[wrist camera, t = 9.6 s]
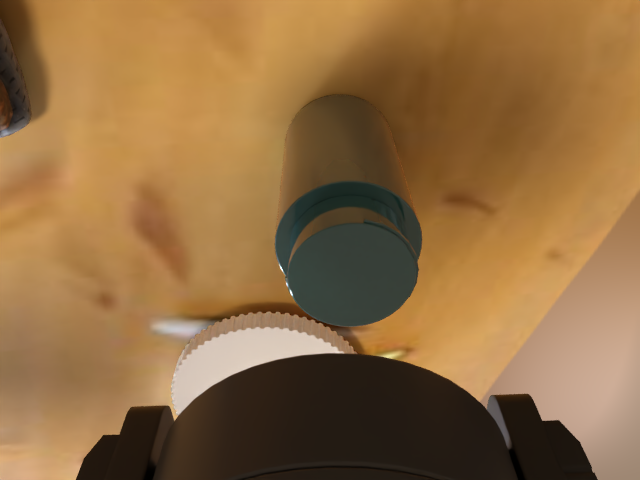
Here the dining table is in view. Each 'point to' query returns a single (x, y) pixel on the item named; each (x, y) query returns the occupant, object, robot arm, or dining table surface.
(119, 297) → the dining table surface
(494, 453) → the jar lid
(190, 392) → the plastic lid
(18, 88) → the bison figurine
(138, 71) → the dining table surface
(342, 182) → the jar
